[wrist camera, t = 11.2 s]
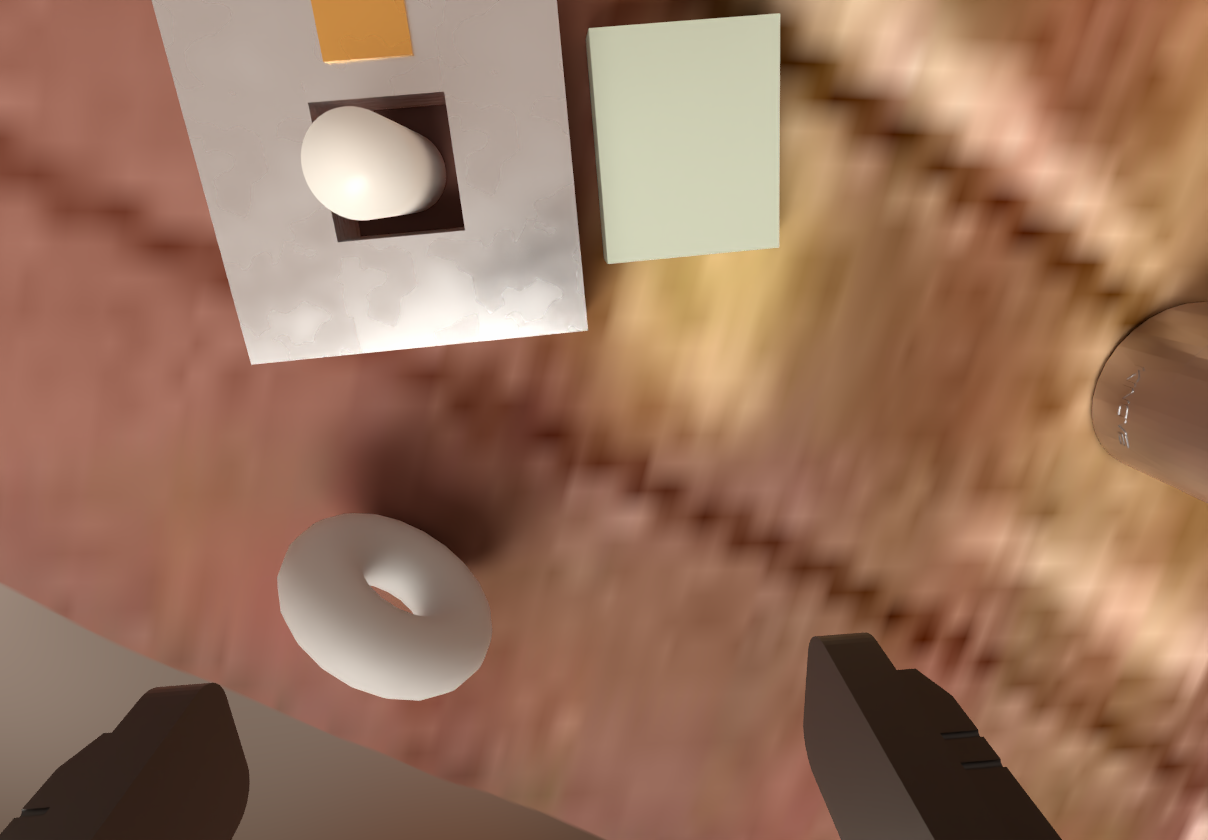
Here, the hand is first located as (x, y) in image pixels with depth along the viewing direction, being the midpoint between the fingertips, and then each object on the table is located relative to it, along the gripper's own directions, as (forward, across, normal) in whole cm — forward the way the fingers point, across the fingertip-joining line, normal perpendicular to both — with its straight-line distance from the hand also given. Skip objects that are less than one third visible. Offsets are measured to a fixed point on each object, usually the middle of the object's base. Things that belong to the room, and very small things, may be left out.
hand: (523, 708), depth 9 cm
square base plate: (+24, -6, -8) cm, 26 cm away
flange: (+24, +6, -8) cm, 25 cm away
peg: (+24, +6, -8) cm, 25 cm away
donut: (+24, +8, +10) cm, 27 cm away
